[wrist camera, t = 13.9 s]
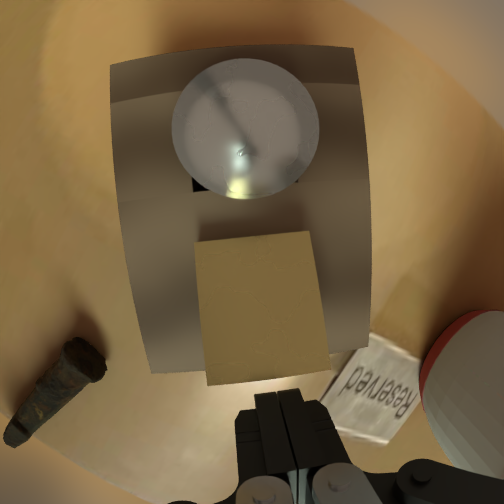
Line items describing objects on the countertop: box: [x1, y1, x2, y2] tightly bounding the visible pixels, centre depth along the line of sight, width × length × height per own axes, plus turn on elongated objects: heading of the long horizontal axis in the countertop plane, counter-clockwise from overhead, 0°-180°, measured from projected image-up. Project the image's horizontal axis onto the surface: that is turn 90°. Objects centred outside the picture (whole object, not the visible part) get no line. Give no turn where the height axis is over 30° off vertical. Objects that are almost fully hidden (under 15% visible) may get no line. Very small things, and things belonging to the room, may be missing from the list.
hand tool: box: [3, 337, 107, 448], centre depth 22 cm, size 19×4×5 cm, turn 129°
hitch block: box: [110, 45, 372, 374], centre depth 18 cm, size 16×12×8 cm
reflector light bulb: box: [172, 58, 319, 199], centre depth 16 cm, size 6×6×10 cm
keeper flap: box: [194, 231, 331, 386], centre depth 13 cm, size 6×5×1 cm
